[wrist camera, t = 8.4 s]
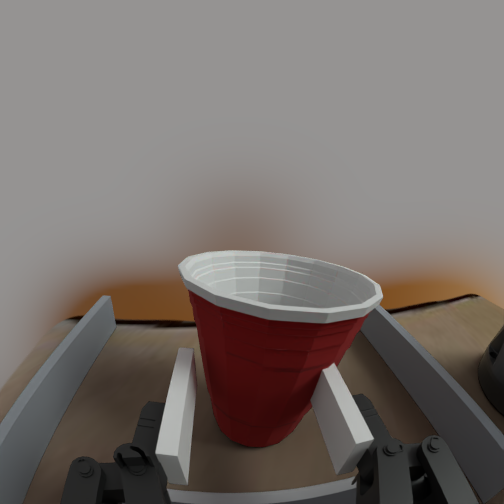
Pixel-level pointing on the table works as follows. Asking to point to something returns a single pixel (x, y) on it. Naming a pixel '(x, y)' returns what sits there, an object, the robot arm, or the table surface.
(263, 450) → the table surface
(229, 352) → the plastic cup
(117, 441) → the table surface
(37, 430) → the guide rails
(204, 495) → the pad
